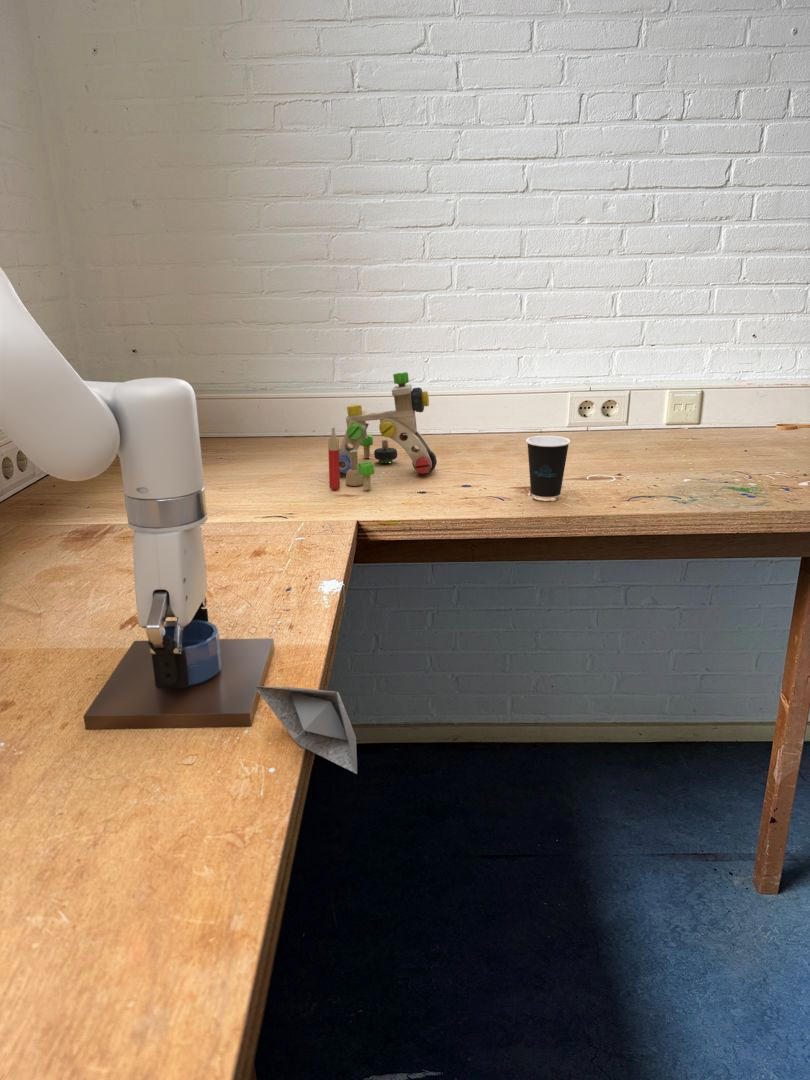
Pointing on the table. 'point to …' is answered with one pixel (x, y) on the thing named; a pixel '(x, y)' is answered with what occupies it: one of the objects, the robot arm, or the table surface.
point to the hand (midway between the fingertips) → (184, 663)
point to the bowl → (200, 650)
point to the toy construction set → (390, 426)
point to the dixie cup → (547, 465)
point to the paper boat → (315, 722)
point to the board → (183, 691)
